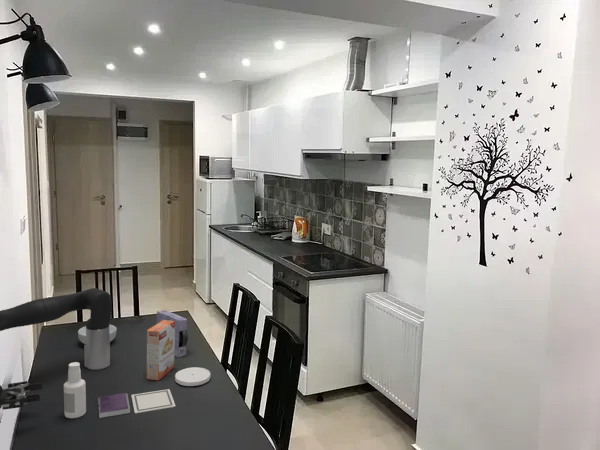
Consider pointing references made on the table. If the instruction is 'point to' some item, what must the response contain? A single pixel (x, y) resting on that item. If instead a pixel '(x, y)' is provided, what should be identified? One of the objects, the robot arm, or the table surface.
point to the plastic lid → (192, 376)
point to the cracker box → (160, 349)
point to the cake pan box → (176, 331)
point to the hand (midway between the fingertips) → (41, 391)
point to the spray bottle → (74, 393)
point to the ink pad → (113, 405)
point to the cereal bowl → (83, 333)
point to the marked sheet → (152, 401)
